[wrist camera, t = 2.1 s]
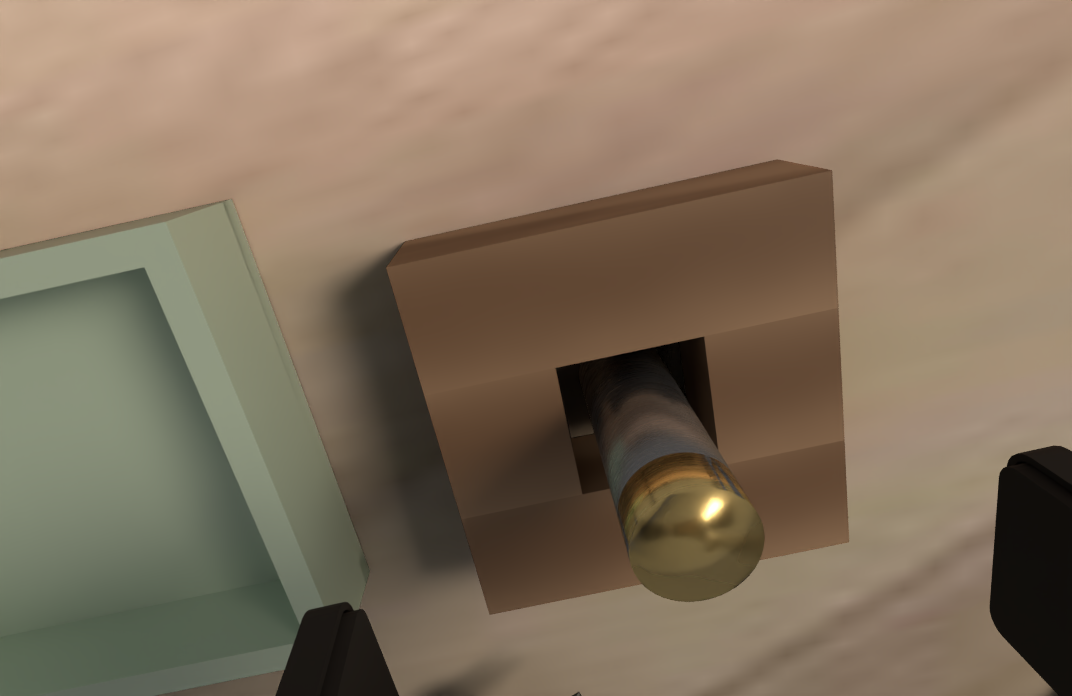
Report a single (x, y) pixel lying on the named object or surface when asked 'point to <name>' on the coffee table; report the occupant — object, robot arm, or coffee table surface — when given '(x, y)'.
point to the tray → (156, 466)
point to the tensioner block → (620, 327)
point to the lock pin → (668, 481)
